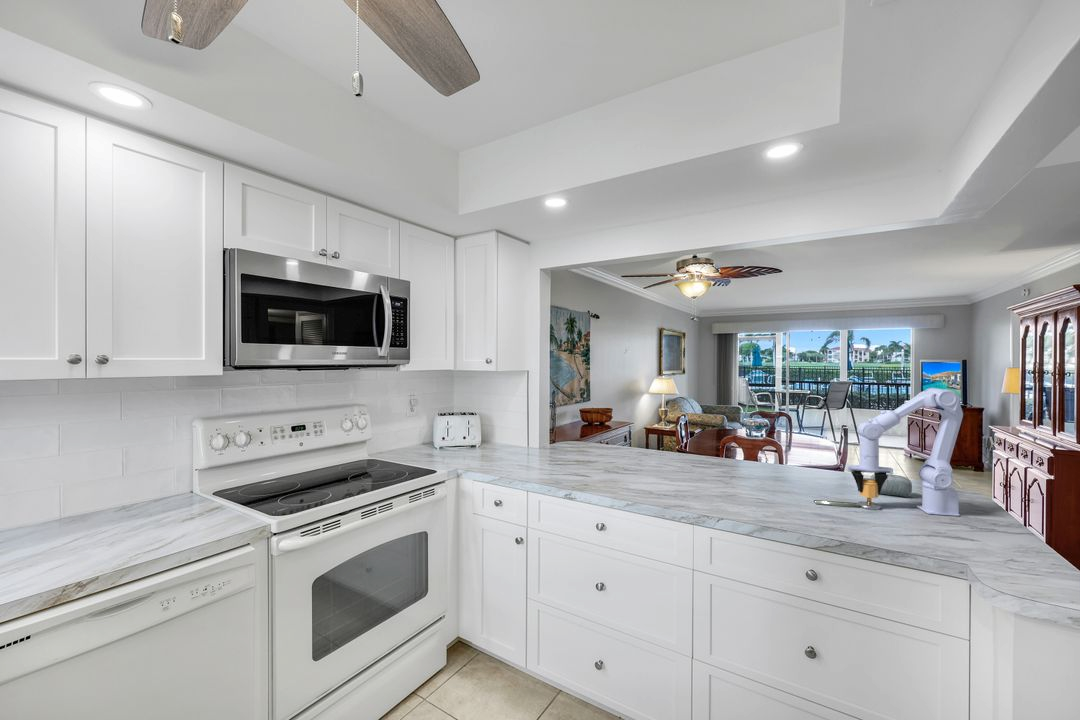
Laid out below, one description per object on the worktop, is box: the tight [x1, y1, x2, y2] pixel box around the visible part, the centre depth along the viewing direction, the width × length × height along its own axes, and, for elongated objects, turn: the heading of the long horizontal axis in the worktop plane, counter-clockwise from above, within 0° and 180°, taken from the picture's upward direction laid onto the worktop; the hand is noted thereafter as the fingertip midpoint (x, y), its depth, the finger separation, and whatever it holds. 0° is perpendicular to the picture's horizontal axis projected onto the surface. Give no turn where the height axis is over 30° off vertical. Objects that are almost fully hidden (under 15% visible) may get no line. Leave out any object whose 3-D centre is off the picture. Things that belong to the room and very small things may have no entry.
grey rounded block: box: [869, 473, 913, 498], centre depth 184 cm, size 14×10×10 cm
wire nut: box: [859, 477, 879, 499], centre depth 170 cm, size 5×5×6 cm
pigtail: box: [813, 497, 882, 511], centre depth 172 cm, size 21×7×4 cm, turn 75°
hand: (869, 491), depth 170 cm, fingers closed on wire nut, 5 cm apart
